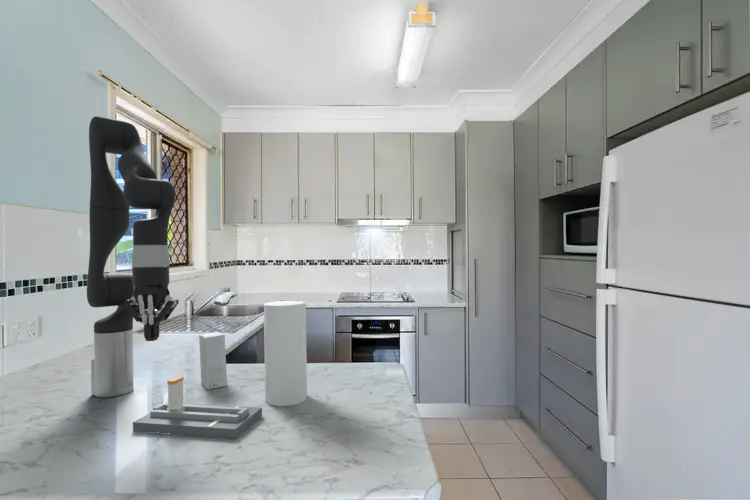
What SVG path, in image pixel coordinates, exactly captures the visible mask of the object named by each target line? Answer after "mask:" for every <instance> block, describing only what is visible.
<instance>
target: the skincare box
mask: <svg viewBox="0 0 750 500" xmlns="http://www.w3.org/2000/svg"><path fill="white" fill-rule="evenodd" d="M198 336H199V343H198V344H199V358H200V359H199V360H200V361H199V362H200V363H199V364H200V383H201V385H202V386H203V387H204V388H205V389H206V390H211V389H212V390H213V389H218V388H219V389H220V388H225V387H228V375H227V358H226V335H225V334H223V333H221V332H219V331H215V332H208V333H201V334H198Z"/></svg>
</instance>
